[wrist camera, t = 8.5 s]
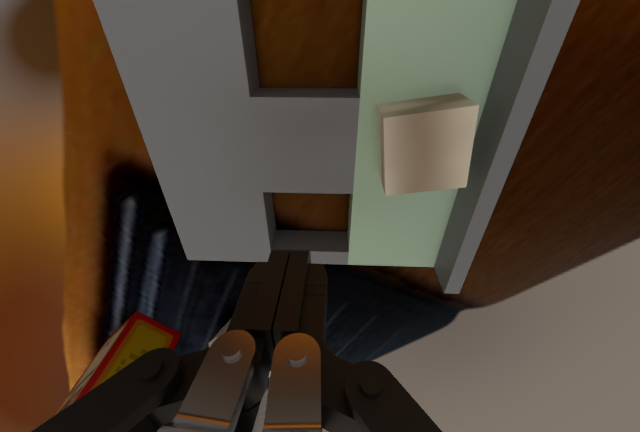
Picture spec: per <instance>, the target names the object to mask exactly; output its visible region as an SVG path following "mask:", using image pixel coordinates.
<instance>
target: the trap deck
mask: <svg viewBox="0 0 640 432" xmlns="http://www.w3.org/2000/svg"><path fill="white" fill-rule="evenodd" d="M93 2H94V5H95V7H96V10H97V13H98V16H99V18H100V21H101V24H102V27H103V29H104V32H105V35H106V38H107V40H108V43H109V46H110V49H111V51H112V54H113V57H114V59H115V62H116V65H117V68H118V70H119V73H120V76H121V79H122V81H123V84H124V87H125V90H126V92H127V95H128V98H129V101H130V103H131V106H132V109H133V112H134V114H135V117H136V120H137V122H138V125H139V128H140V131H141V133H142V136H143V139H144V142H145V144H146V147H147V150H148V153H149V155H150V158H151V161H152V164H153V166H154V169H155V172H156V174H157V177H158V180H159V183H160V185H161V188H162V191H163V194H164V196H165V199H166V202H167V205H168V207H169V210H170V213H171V216H172V218H173V221H174V224H175V227H176V229H177V232H178V235H179V237H180V240H181V243H182V246H183V248H184V251H185V254H186V257H187V259H188V260H209V261H243V262H268V259H269V256H270V252H271V250H272V249H289V250H310V253H311V263H313V264H346V265H380V266H414V267H434V269H435V271H436V274H437V276H438V279H439V282H440V284H441V287H442V289H443V292H444V293H453V294H459V292H460V290H461V287H462V285H463V283H464V280H465V278H466V275H467V273H468V271H469V268H470V266H471V263H472V261H473V258H474V256H475V254H476V251H477V249H478V246H479V244H480V242H481V239H482V237H483V234H484V232H485V229H486V227H487V225H488V222H489V220H490V217H491V215H492V213H493V210H494V208H495V205H496V203H497V200H498V198H499V196H500V193H501V191H502V188H503V186H504V184H505V181H506V179H507V176H508V174H509V171H510V169H511V167H512V164H513V162H514V159H515V157H516V155H517V152H518V150H519V147H520V145H521V142H522V140H523V138H524V135H525V133H526V130H527V128H528V125H529V123H530V121H531V118H532V116H533V113H534V111H535V109H536V106H537V104H538V101H539V99H540V96H541V94H542V92H543V89H544V87H545V84H546V82H547V80H548V77H549V75H550V72H551V70H552V67H553V65H554V63H555V60H556V58H557V55H558V53H559V51H560V48H561V46H562V43H563V41H564V38H565V36H566V34H567V31H568V29H569V26H570V24H571V22H572V19H573V17H574V14H575V12H576V9H577V7H578V5H579V2H580V0H363V5H362V20H361V35H360V50H359V66H358V81H357V88H260V83H259V74H258V65H257V57H256V48H255V39H254V30H253V22H252V13H251V4H250V0H93ZM453 93H461V94H462V95H464V96H466V97H467V98H469V99H470V100H472V101H474V102H475V103H477V104H479V110H478V117H477V123H476V129H475V136H474V142H473V148H472V155H471V161H470V167H469V174H468V180H467V186H466V187H465V188H456V189H446V190H436V191H427V192H417V193H408V194H398V195H388V196H385V193H384V189H383V186H382V182H381V179H380V175H379V149H378V122H377V104H383V103H390V102H397V101H404V100H411V99H418V98H425V97H432V96H439V95H446V94H453ZM272 192H274V193H324V194H350V202H349V217H348V232H344V231H304V230H276V223H275V215H274V206H273V197H272Z"/></svg>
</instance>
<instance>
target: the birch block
mask: <svg viewBox="0 0 640 432" xmlns="http://www.w3.org/2000/svg"><path fill="white" fill-rule="evenodd" d="M478 110H479V104H477V103H475V102H474V101H472V100H470V99H469V98H467V97H466V96H464V95H462V94H461V93H453V94H446V95H439V96H432V97H425V98H418V99H411V100H404V101H397V102H390V103H383V104H377V122H378V149H379V175H380V179H381V182H382V186H383V189H384V193H385V196H388V195H398V194H408V193H417V192H427V191H436V190H446V189H456V188H465V187H466V186H467V180H468V174H469V167H470V161H471V155H472V148H473V142H474V136H475V129H476V123H477V117H478Z"/></svg>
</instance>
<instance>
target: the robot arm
mask: <svg viewBox="0 0 640 432" xmlns="http://www.w3.org/2000/svg"><path fill="white" fill-rule="evenodd" d="M326 312H327V273H326V270H325V268H324V266H323V264H313V263H311V253H310V250H289V249H272V250H271V252H270V256H269V259H268V262H257V263H256V264H255V265H254V267H253V268H252V269H251V270H250V271H249V273H248V276H247V278H246V281H245V284H244V286H243V289H242V293H241V294H240V297H239V299H238V302H237V305H236V307H235V310H234V313H233V315H232V318H231V321H230V323H229V326H228V328H227V330H226V332H225V333H224V334H222V335H220V336H219V337H218V338H217V339H216V340H215V341H214V342H213V343H212V345H211V346H210V347H209V348H206V349H204V350H201V351H197V352H193V353H190V354H186V355H182V356H178V355H177V354H176V352H175V351H174V350H172V349H169V348H157V349H153V350H151V351H149V352H147V353H145V354H143V355H142V356H140V357H139V358H137V359H136V360H135V361H133V362H132V363H130V364H129V365H127V366H126V367H124V368H123V369H122V370H120V371H119V372H117V373H116V374H114V375H113V376H111V377H110V378H108V379H107V380H106V381H104V382H103V383H101V384H100V385H98V386H97V387H95V388H94V389H93V390H91V391H90V392H88V393H87V394H85V395H84V396H82V397H81V398H80V399H78V400H77V401H75V402H74V403H72V404H71V405H69V406H68V407H67V408H65V409H64V410H62V411H61V412H59V413H58V414H56V415H55V416H53V417H52V418H51V419H49V420H48V421H46V422H45V423H43V424H42V425H40V426H39V427H38V428H36V429H35V430H33V431H32V432H257V428H258V425H259V421H260V417H261V414H262V410H263V407H264V403H265V399H266V394H267V388H266V387H267V382H268V378H269V373H270V371H271V374H270V382H269V389H268V397H267V404H266V412H265V419H264V426H263V431H262V432H322V428H323V429H325V430H327V431H329V432H442V431H441V430H440V429H439V428H438V426H437V425H436V424H435V423H434V422H433V421H432V420H431V418H430V417H429V416H428V415H427V414H426V413H425V411H424V410H423V409H422V408H421V407H420V406H419V405H418V403H417V402H416V401H415V400H414V399H413V398H412V397H411V396H410V394H409V393H408V392H407V391H406V390H405V389H404V387H403V386H402V385H401V384H400V383H399V382H398V381H397V379H396V378H395V377H394V376H393V375H392V374H391V373H390V371H389V370H388V369H387V368H386V367H384V366H383V365H381V364H379V363H377V362H374V361H360V362H358V363H356V364H352V363H350V362H348V361H345V360H343V359H340V358H338V357H337V356H335V355H334V354H333V353H332V352H330V350H329V349H328V348H327V346H326V344H325V329H326Z"/></svg>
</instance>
